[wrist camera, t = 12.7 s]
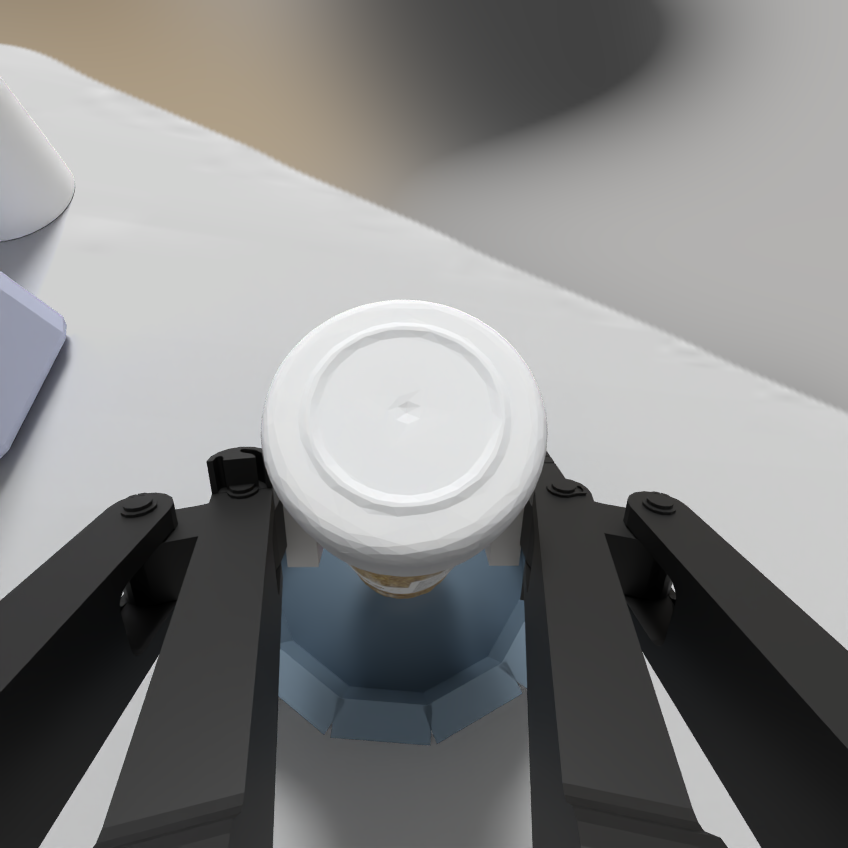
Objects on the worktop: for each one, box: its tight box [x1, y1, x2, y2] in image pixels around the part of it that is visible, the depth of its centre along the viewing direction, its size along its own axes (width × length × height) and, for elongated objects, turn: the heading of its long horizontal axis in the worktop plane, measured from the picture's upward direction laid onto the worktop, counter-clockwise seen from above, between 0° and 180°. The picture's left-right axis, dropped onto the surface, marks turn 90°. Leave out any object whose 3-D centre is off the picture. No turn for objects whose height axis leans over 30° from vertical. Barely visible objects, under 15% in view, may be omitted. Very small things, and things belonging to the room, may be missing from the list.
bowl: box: [278, 548, 527, 745], centre depth 20 cm, size 14×14×4 cm
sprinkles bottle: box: [261, 300, 548, 599], centre depth 13 cm, size 5×5×13 cm
